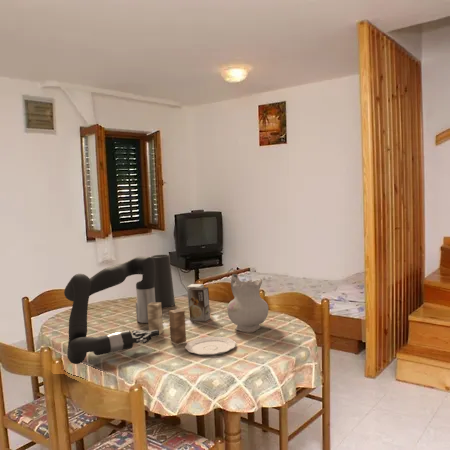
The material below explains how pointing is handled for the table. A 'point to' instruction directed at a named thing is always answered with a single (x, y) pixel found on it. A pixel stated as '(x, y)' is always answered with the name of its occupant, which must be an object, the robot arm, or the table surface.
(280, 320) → the table surface
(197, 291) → the coffee box
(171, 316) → the walnut block
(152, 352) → the table surface
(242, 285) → the ceramic pitcher
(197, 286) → the supplement box
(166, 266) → the vase
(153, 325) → the birch block
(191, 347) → the plate
